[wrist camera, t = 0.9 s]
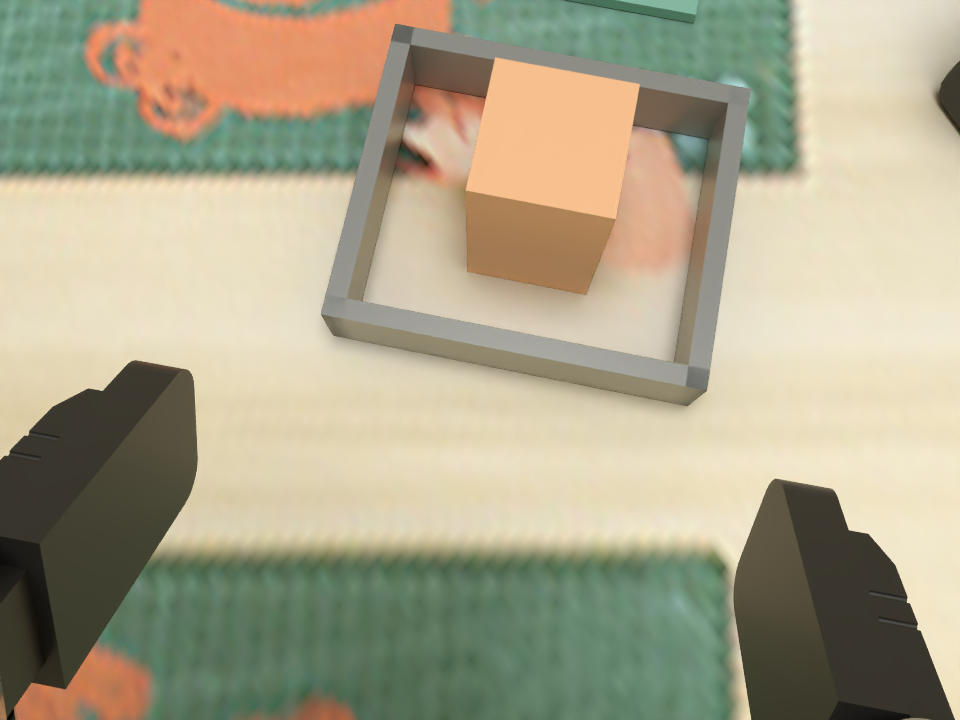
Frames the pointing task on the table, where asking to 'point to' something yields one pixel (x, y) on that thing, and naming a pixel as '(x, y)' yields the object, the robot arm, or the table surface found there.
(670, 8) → the mat
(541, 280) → the block
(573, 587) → the table surface
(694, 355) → the grey rectangular frame
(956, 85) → the card reader
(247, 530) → the table surface
